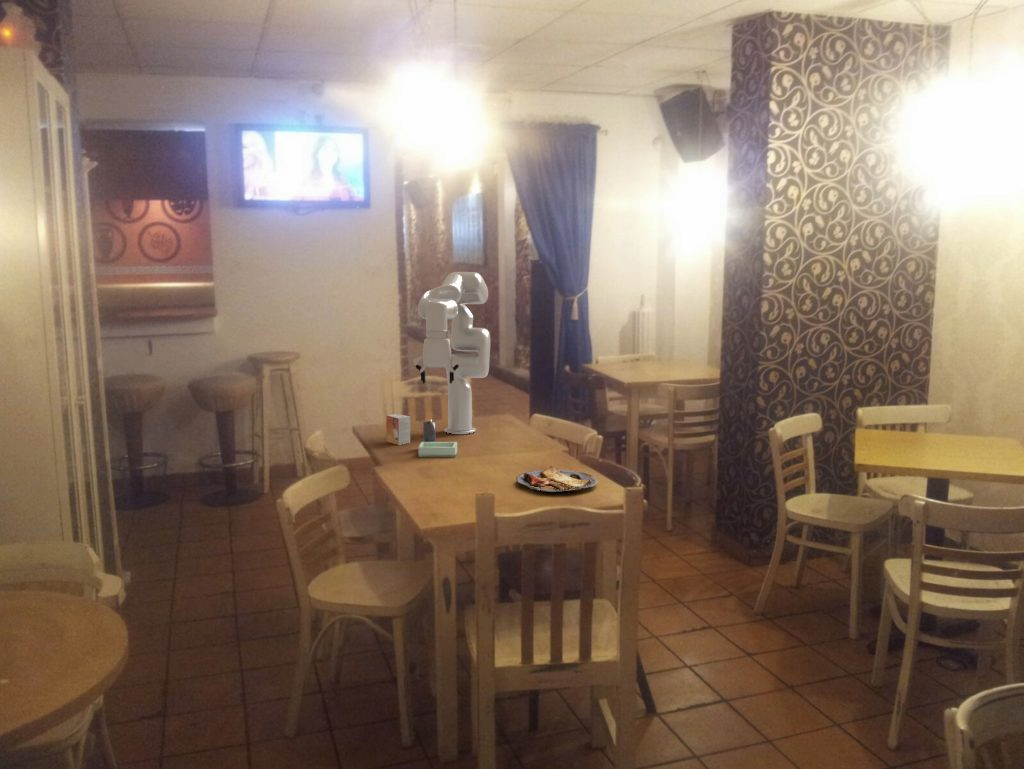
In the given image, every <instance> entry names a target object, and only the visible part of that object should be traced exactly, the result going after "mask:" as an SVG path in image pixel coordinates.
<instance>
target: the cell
mask: <svg viewBox="0 0 1024 769" xmlns="http://www.w3.org/2000/svg"><path fill="white" fill-rule="evenodd" d="M422 426H423V428H422V430H423V431H422V432H423V434H422V435H423V439H422V440H423V441H422V442H437V441H436V440H437V439H436V436H437V435H436V433H437V432H436V429H437V428H436V426H437V424H436V421H434V420H432V419H429V418H428V419H426V421H425V420H424V421H423V422H422Z"/></svg>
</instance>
